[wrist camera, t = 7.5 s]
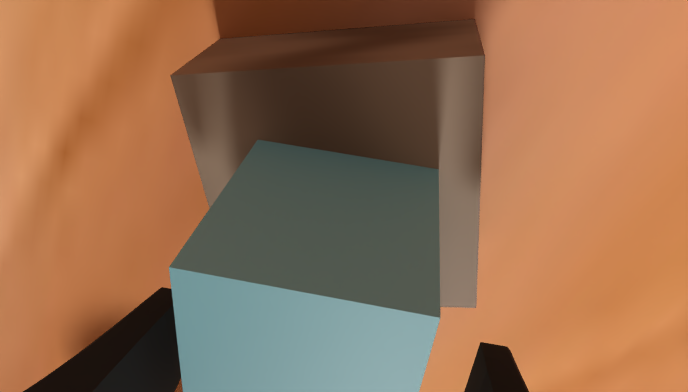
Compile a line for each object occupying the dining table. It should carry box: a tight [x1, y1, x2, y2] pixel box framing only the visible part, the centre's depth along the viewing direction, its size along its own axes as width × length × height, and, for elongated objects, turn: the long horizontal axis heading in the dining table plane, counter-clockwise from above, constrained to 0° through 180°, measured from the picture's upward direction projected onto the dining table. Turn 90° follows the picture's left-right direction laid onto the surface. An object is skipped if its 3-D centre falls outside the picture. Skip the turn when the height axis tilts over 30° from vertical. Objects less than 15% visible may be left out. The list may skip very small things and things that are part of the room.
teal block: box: [169, 140, 440, 392], centre depth 13 cm, size 5×5×6 cm
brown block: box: [170, 19, 485, 308], centre depth 16 cm, size 8×8×4 cm
